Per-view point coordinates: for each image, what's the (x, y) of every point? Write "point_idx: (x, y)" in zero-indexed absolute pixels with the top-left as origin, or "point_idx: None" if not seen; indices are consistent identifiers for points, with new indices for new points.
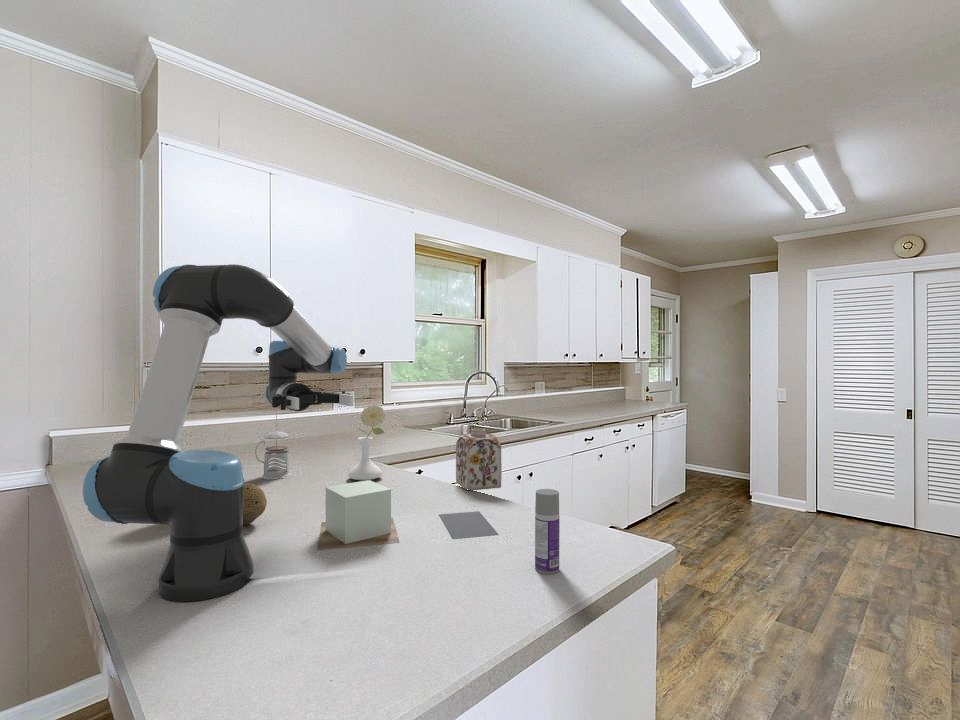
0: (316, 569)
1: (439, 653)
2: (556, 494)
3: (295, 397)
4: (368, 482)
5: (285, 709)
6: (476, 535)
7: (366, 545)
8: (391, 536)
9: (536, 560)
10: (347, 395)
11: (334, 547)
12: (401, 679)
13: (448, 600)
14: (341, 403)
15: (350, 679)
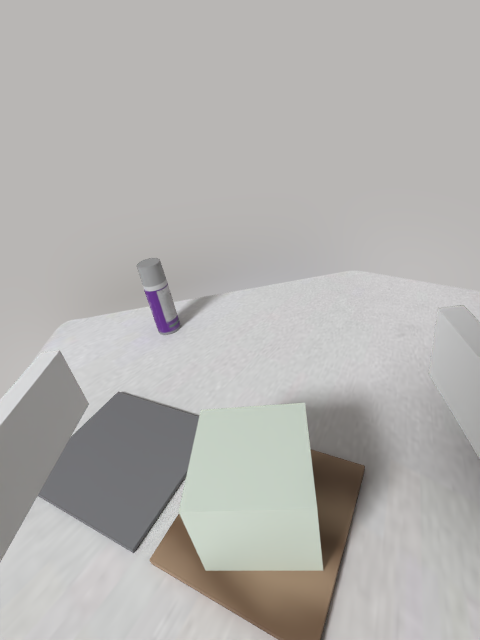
0: (375, 418)
1: (317, 288)
2: (150, 258)
3: (474, 342)
4: (198, 486)
5: (418, 281)
6: (137, 402)
7: None
8: None
9: (176, 320)
10: (38, 382)
11: (333, 459)
12: (348, 281)
13: (274, 321)
14: (6, 536)
15: (377, 287)
